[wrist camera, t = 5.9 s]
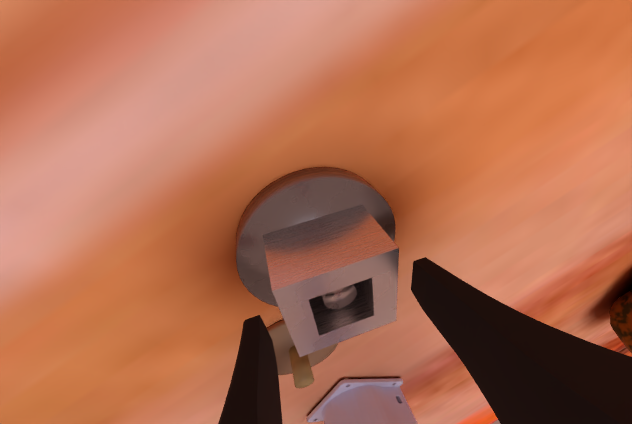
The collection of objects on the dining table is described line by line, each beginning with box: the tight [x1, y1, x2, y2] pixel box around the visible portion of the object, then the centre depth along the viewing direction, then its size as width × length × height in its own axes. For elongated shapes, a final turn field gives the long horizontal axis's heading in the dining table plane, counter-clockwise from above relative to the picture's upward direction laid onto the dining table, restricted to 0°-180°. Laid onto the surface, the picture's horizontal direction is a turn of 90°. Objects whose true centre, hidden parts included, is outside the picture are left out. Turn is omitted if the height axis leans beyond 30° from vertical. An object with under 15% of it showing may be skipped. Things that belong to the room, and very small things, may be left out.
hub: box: [236, 167, 395, 309], centre depth 13 cm, size 9×9×4 cm
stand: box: [267, 320, 338, 388], centre depth 19 cm, size 7×7×3 cm
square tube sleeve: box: [263, 204, 399, 357], centre depth 13 cm, size 5×5×4 cm
